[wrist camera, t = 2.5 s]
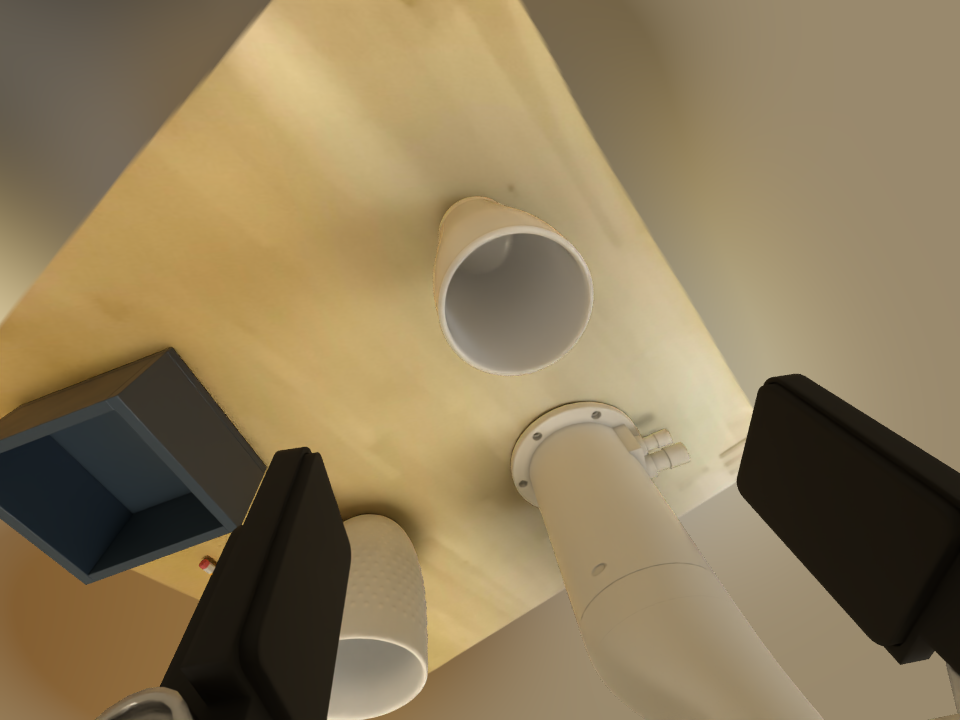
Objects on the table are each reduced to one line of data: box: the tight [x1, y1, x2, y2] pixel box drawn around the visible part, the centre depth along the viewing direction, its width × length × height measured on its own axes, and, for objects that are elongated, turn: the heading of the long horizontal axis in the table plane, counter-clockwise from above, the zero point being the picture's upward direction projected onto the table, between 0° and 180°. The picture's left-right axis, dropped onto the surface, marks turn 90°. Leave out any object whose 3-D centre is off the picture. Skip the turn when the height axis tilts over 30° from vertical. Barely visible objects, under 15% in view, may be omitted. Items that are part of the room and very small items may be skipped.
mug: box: [327, 514, 428, 720], centre depth 37 cm, size 15×11×13 cm
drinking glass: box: [433, 196, 594, 376], centre depth 25 cm, size 7×7×15 cm
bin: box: [0, 348, 266, 585], centre depth 33 cm, size 13×13×7 cm
